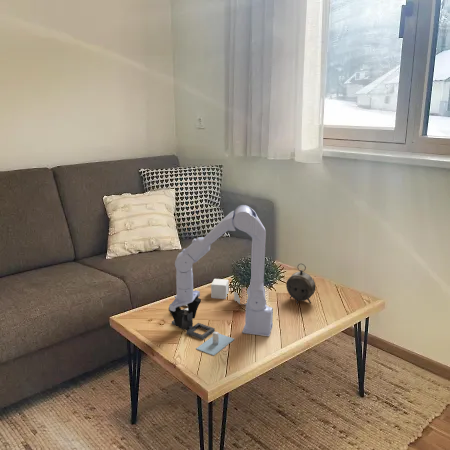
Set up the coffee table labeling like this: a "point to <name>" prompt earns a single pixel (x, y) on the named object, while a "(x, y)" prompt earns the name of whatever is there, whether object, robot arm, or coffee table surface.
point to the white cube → (219, 288)
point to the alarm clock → (301, 286)
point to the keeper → (215, 343)
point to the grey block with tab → (188, 326)
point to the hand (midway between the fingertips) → (185, 321)
